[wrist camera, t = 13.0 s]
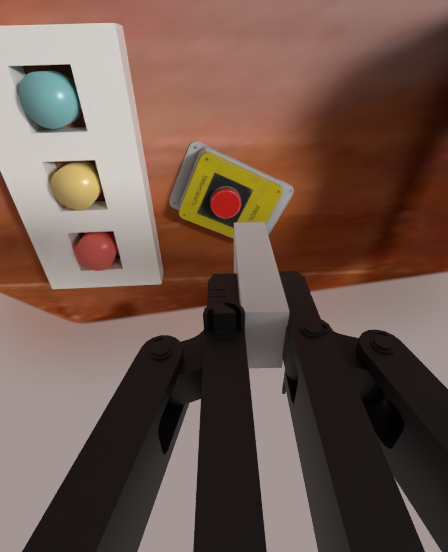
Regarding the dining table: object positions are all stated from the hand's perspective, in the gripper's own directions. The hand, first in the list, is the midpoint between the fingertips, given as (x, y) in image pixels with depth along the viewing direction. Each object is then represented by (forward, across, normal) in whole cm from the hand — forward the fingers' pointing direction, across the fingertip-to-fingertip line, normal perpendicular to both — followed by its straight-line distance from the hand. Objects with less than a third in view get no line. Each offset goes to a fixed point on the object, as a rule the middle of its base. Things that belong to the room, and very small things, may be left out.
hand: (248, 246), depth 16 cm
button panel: (+26, +19, +4) cm, 32 cm away
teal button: (+25, +19, -5) cm, 32 cm away
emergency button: (+27, 0, +7) cm, 28 cm away
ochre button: (+25, +19, +4) cm, 32 cm away
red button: (+25, +19, +13) cm, 34 cm away
